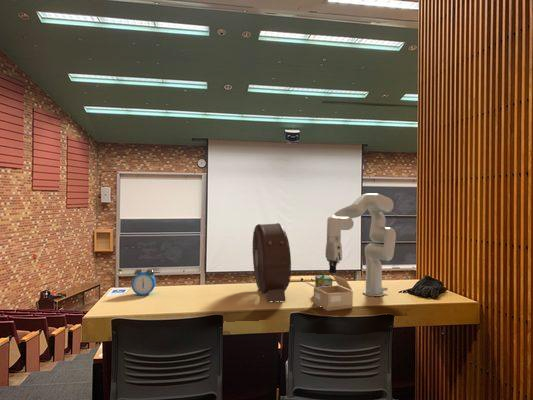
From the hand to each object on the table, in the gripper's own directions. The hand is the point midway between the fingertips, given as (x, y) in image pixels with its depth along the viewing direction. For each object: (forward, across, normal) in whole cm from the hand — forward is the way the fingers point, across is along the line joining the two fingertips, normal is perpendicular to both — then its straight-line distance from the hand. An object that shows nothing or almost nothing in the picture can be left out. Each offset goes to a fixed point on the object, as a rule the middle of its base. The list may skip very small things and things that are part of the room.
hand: (332, 272), depth 192 cm
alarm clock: (+20, +57, +94) cm, 112 cm away
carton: (+18, 0, -1) cm, 18 cm away
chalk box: (+18, +19, -7) cm, 27 cm away
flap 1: (+7, 0, +10) cm, 13 cm away
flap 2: (+6, 0, -6) cm, 9 cm away
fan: (+19, +32, +23) cm, 44 cm away
